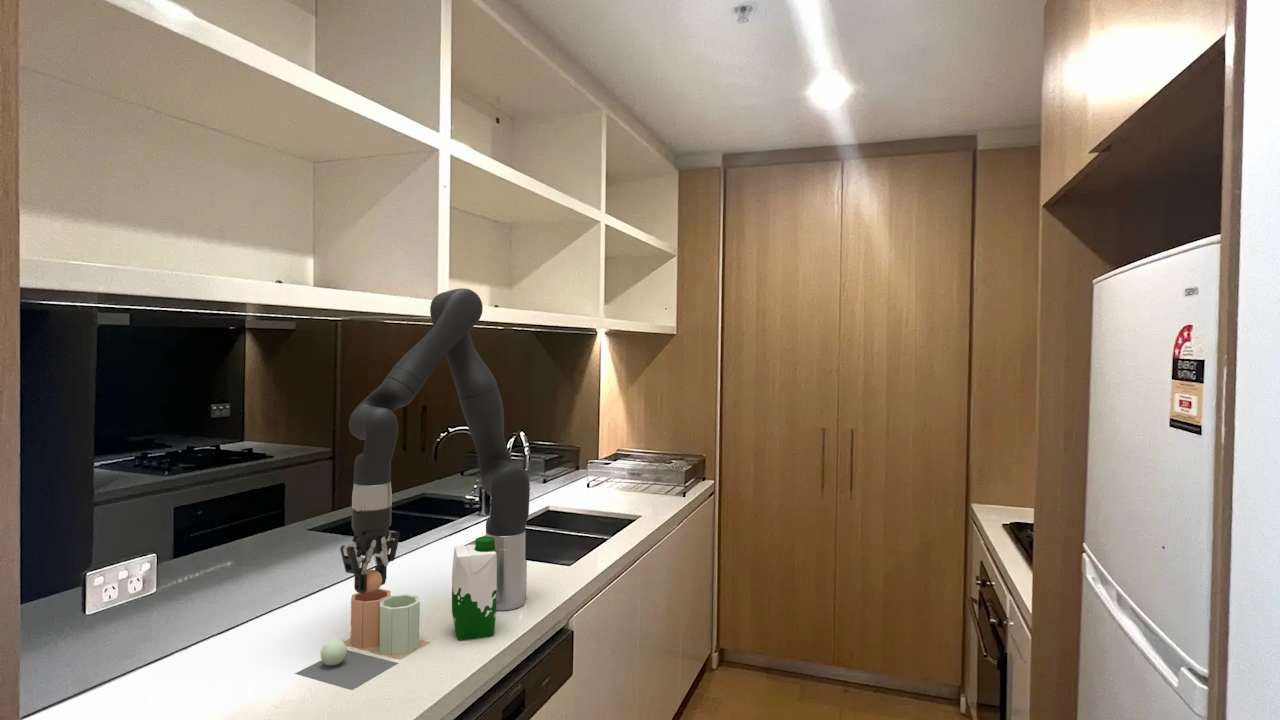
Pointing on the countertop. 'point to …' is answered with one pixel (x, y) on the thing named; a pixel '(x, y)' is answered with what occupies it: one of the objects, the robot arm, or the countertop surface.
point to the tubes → (385, 623)
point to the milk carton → (474, 589)
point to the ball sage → (333, 652)
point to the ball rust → (373, 581)
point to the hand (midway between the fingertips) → (370, 587)
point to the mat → (348, 670)
